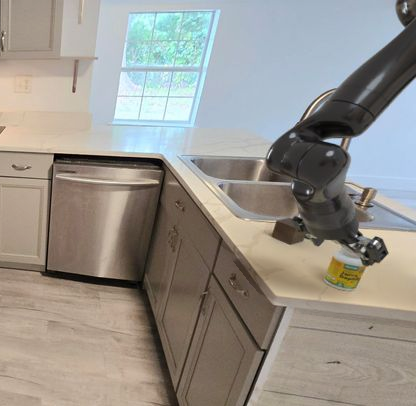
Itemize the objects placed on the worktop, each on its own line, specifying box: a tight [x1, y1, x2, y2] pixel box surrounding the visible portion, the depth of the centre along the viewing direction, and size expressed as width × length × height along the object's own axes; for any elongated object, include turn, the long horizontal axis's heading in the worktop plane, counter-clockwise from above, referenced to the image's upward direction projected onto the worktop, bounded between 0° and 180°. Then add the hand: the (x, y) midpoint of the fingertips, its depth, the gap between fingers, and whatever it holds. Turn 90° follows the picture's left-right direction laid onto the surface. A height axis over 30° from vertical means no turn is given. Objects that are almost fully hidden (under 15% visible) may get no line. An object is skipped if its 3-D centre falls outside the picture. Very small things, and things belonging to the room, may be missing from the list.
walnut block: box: [271, 217, 306, 246], centre depth 99 cm, size 5×5×5 cm
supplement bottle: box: [323, 244, 367, 292], centre depth 79 cm, size 5×5×10 cm
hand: (343, 252), depth 76 cm, fingers open, 8 cm apart
